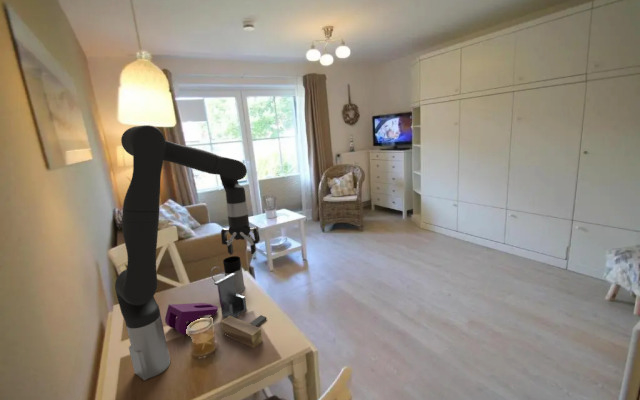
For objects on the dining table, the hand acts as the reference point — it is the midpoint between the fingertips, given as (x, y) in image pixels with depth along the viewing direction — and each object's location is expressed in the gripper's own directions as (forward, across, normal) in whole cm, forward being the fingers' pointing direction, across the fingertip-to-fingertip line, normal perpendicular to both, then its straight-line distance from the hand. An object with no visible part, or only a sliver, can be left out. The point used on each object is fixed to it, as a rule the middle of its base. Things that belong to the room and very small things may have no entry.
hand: (242, 253), depth 120 cm
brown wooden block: (+25, +2, -16) cm, 30 cm away
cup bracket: (+25, -5, -2) cm, 25 cm away
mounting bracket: (+26, -19, -6) cm, 33 cm away
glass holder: (+25, -13, +16) cm, 32 cm away
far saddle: (+25, +6, -8) cm, 27 cm away
